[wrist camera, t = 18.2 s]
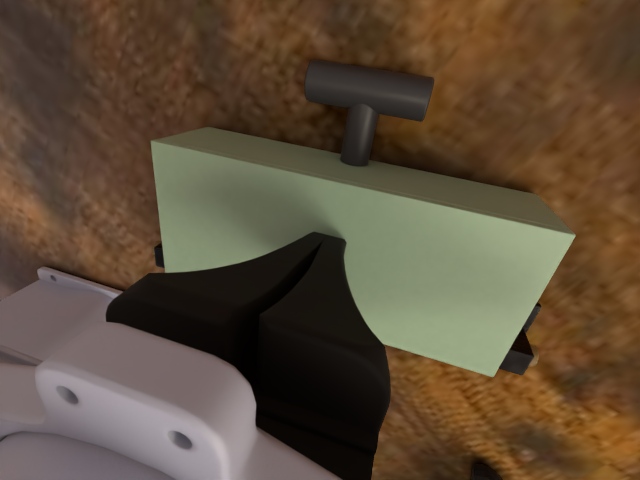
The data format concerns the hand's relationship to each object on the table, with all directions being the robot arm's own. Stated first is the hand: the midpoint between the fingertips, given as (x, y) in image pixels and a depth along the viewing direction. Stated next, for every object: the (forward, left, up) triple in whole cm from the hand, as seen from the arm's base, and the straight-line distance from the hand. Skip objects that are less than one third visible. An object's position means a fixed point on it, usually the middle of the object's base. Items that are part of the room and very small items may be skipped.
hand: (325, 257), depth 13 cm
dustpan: (0, +2, 0) cm, 2 cm away
